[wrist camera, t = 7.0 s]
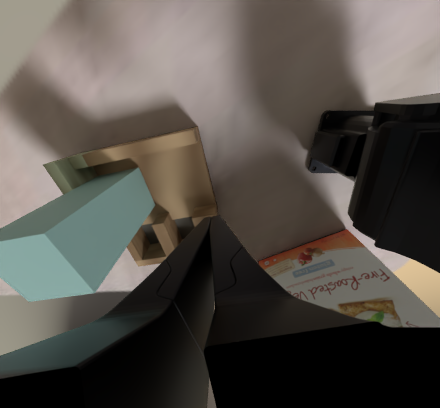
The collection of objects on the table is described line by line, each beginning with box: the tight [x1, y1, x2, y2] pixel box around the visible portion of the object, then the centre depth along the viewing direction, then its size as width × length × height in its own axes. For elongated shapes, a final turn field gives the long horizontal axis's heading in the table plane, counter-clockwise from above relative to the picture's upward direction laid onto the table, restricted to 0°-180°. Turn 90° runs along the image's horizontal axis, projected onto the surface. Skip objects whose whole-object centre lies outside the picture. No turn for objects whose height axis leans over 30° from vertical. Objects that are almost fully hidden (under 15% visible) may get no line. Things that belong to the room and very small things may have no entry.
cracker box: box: [259, 229, 440, 327], centre depth 19 cm, size 14×6×21 cm, turn 119°
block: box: [0, 167, 155, 302], centre depth 16 cm, size 5×5×12 cm
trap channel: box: [43, 127, 218, 266], centre depth 21 cm, size 14×15×5 cm
